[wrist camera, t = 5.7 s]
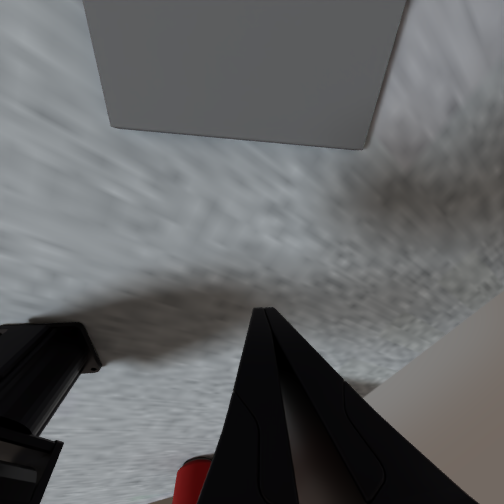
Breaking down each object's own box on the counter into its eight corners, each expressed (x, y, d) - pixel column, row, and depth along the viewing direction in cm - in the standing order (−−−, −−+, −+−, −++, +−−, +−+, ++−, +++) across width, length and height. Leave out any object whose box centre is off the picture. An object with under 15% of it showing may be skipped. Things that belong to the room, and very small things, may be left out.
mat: (355, 150, 13) (362, 149, 12) (118, 128, 11) (110, 126, 10) (414, -64, 9) (430, -83, 8) (56, -168, 7) (36, -207, 6)
